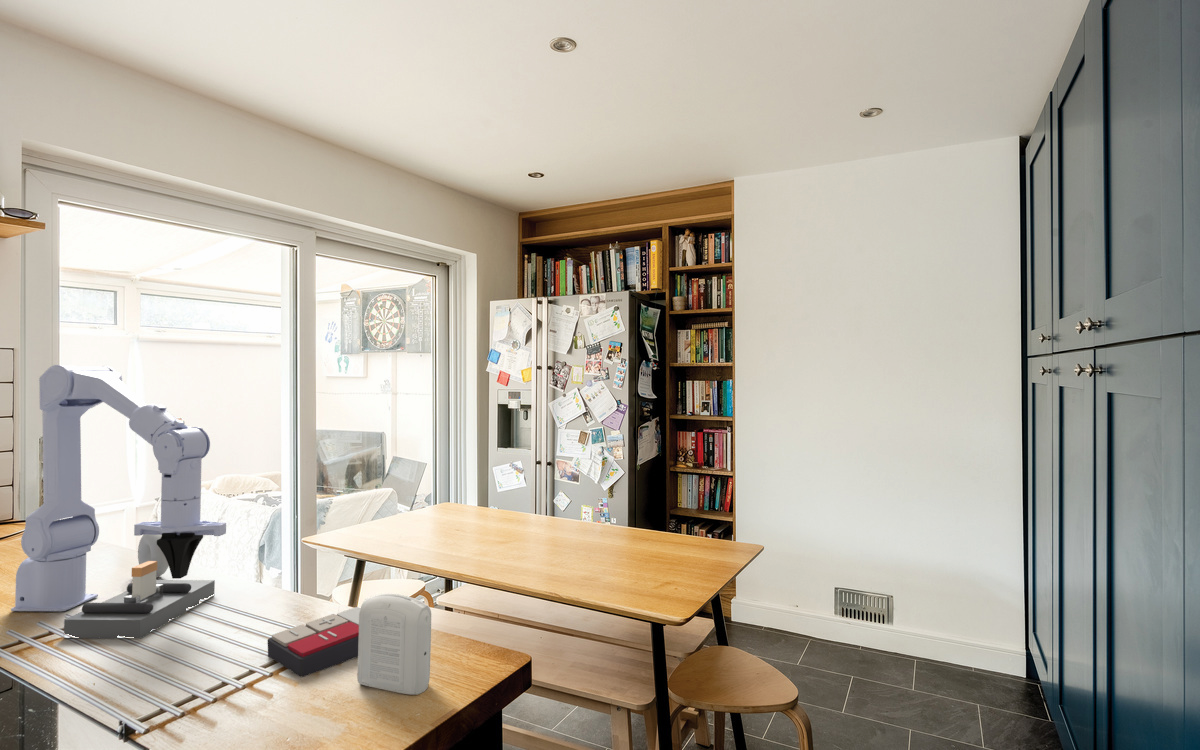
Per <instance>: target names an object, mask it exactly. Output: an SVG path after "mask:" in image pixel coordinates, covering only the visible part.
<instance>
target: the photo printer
mask: <svg viewBox="0 0 1200 750" xmlns="http://www.w3.org/2000/svg"><path fill="white" fill-rule="evenodd" d="M360 608H361V609H360V613H359V641H358V657H357V675H356V676H357V683H358V684H359V685H363V686H366V687H371V688H376V689H381V690H385V691H389V692H395V693H398V694H404V695H405V694H406V695H415V696H416V695H417V696H418V695H420V694H422V693H424V692H425V691H426V690H427V689H428V687H429V683H430V678H431V677H430V676H431V651H432V644H431V643H432V610H431V607H430V606H429V605H428V604H426V603H425V602H422V601H421V600H419V599H417V598H414V597H412V596H408V595H404V594H399V593H381V594H375V595H371V596H370V597H368V598H365V599H364V601H363V602H362V603H361V606H360Z"/></svg>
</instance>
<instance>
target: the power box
mask: <svg viewBox="0 0 1200 750" xmlns="http://www.w3.org/2000/svg"><path fill="white" fill-rule="evenodd" d="M215 583H216V582H215V579H209V580H208V579H156V593H155V595H154V596H152V597H150V598H148V599H146V600H144V601H142V602H140V595H132V582H130V583H128V585H127V587H126V591H123V592H122V593H119V594H117V595H115V596H113V597H111V598H109V599H106V600H104V601H102V602H84V604H83V605H82V607H81V611H80V612H78V613H75V614H74V615H71V616H68V617H67V618H65V619H64V621H63V634H64V633H65V634H69V635H72V636H75V637H79V638H78V639H86V638H87V639H95V640H96V639H97V640H98V639H99V640H100V639H104V640H105V639H109V640H110V639H112V640H114V639H115V638H117V636H118V635H119V636H125V637H134V638H140V639H142V638H143V637H146V636H148V635H149V634H151V633H150V631H151V630H152V629H156V630H157V628H158V629H160V628H162V627H163V626H165V625H167V624H169V622H168V621H169V619H172V618H175V619H177V618H178V616H179V617H180V616H182V615H184V614H185V612H186V608H188V607H192V606H195V605H197V604H199V600H200V599H204V598H208V597H209V596H211V595H213V594H214V595H215ZM199 605H200V604H199ZM186 613H187V612H186ZM176 617H177V618H176ZM164 624H165V625H164ZM159 627H160V628H159Z"/></svg>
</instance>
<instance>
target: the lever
mask: <svg viewBox="0 0 1200 750" xmlns="http://www.w3.org/2000/svg"><path fill="white" fill-rule="evenodd" d="M156 570H157V561H147V562H145V563H142V564H140V565H139V564H138V565H135V566H133V567H131V577H132V581H131V583H132V595H140V602H142V601H144V600H146V599H148V598H150V597H152V596H154V595H155V593H156V580H157V578H156Z"/></svg>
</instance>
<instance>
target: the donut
mask: <svg viewBox="0 0 1200 750" xmlns="http://www.w3.org/2000/svg"><path fill="white" fill-rule="evenodd" d="M161 537H162V535H141V538H140V540H139V543H138V548H137V560H138V565H140V564H142V563H145V562H147V561H157V570H156V579H157V578H159V577H161V576H163V575H164V574H165V573H166V571H167V570H168V569H169V565H168V562H167V560H166V558H165V556H164V554H163V552H162V551H161V549H160V548H159V547H158V545H157V540H158V539H161Z"/></svg>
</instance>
